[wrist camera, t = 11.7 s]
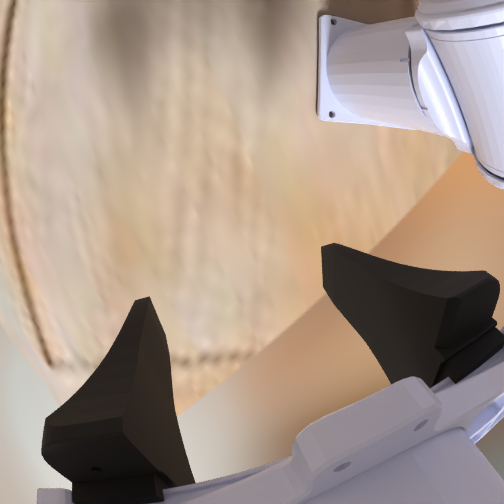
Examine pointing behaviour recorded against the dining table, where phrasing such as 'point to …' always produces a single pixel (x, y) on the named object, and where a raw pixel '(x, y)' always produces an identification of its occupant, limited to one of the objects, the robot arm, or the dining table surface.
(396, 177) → the dining table surface
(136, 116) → the dining table surface
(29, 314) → the dining table surface
